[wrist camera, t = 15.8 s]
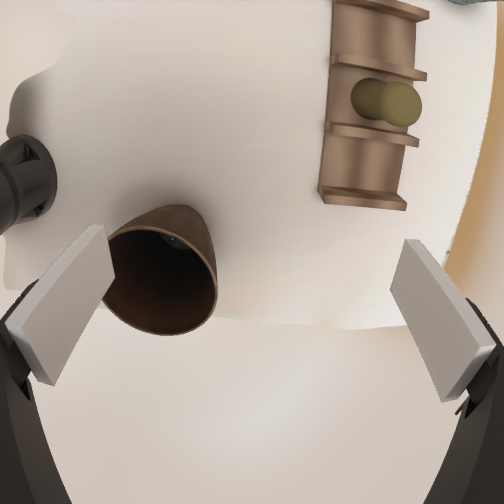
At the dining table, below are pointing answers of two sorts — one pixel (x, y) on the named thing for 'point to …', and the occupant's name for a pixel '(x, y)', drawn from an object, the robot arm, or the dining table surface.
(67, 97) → the dining table surface
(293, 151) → the dining table surface
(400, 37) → the spice rack
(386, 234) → the dining table surface
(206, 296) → the plant pot
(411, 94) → the olive peg figure
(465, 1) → the grey-green tumbler
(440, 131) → the dining table surface
